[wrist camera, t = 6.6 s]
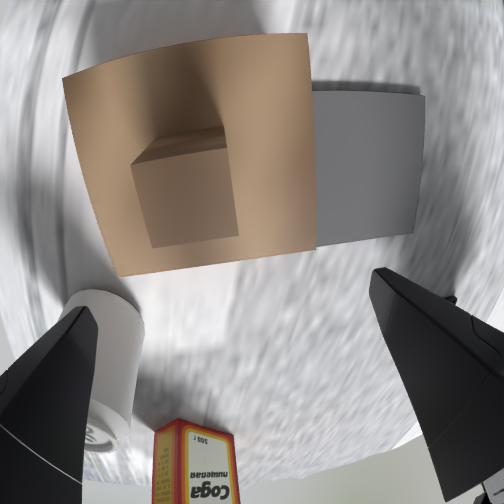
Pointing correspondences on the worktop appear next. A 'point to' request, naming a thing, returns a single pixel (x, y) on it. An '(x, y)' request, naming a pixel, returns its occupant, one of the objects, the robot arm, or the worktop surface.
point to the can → (111, 367)
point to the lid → (199, 151)
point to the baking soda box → (193, 465)
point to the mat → (366, 163)
